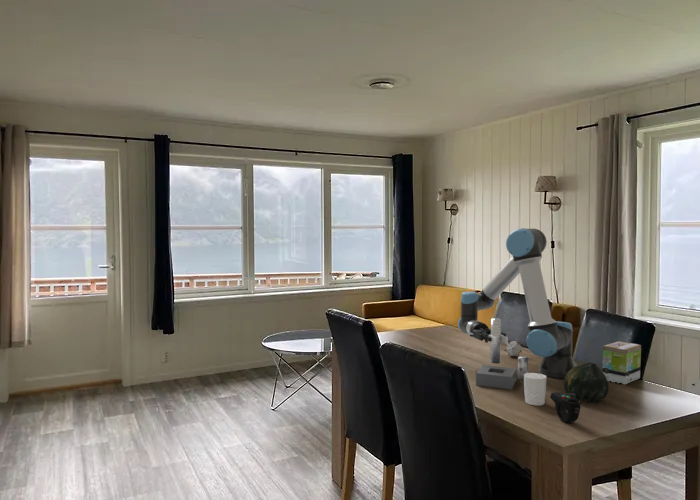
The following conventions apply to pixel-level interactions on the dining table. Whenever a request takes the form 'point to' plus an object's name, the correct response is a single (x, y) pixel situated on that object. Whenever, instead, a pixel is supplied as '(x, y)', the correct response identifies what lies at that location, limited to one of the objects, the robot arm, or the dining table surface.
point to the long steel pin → (497, 333)
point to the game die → (513, 348)
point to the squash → (586, 383)
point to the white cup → (535, 388)
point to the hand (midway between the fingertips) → (501, 341)
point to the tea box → (621, 362)
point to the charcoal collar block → (496, 377)
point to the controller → (566, 406)
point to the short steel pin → (522, 366)
